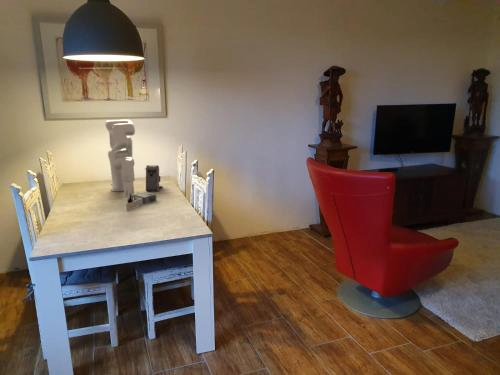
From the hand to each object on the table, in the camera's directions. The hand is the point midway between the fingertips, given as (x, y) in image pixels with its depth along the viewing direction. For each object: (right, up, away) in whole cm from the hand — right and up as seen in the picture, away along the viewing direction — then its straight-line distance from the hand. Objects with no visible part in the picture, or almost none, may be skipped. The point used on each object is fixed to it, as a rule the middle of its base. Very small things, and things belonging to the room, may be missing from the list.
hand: (130, 205), depth 245 cm
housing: (+5, +3, +15) cm, 16 cm away
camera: (+4, +10, +46) cm, 47 cm away
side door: (+3, -1, 0) cm, 3 cm away
